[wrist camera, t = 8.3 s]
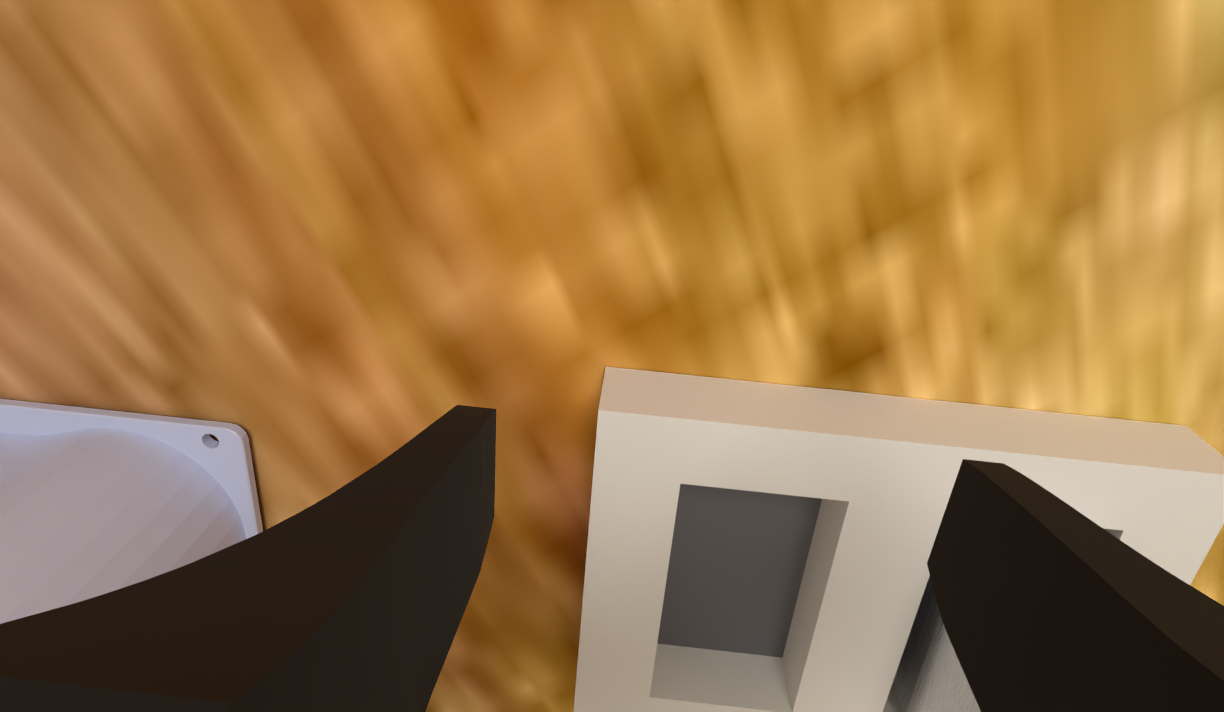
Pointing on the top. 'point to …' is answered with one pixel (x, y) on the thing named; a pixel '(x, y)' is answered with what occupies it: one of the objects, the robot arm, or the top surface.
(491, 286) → the top surface
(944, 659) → the tall grey block
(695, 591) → the light grey flat piece
